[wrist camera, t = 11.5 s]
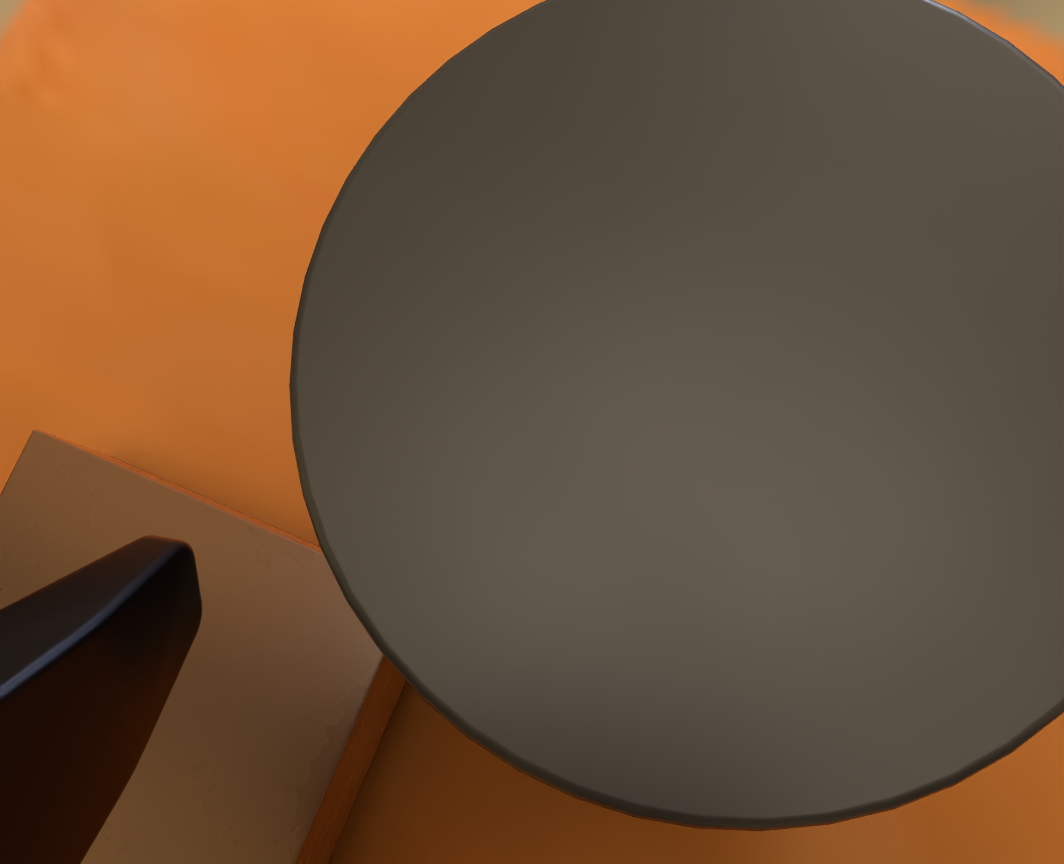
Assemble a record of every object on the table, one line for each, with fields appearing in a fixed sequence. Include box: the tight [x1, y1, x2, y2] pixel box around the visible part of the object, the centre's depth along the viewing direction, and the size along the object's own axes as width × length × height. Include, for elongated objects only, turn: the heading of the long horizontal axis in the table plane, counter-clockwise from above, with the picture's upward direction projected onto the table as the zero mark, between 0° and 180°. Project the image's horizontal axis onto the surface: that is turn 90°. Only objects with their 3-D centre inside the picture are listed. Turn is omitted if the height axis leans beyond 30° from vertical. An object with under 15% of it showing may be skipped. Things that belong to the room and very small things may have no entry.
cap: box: [289, 0, 1064, 831], centre depth 11 cm, size 6×6×8 cm
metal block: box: [0, 430, 406, 864], centre depth 20 cm, size 8×8×3 cm
